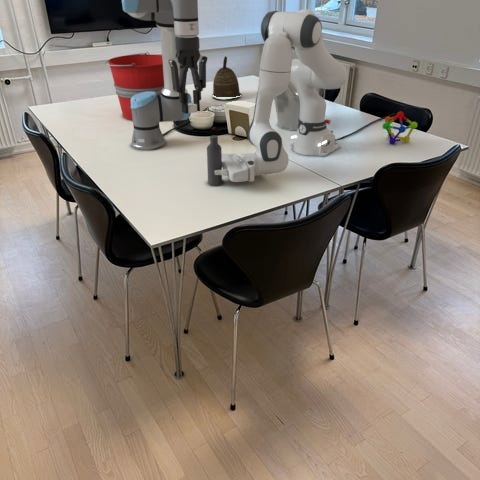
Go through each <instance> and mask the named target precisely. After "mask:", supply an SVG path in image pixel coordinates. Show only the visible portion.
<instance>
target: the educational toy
mask: <svg viewBox="0 0 480 480" xmlns="http://www.w3.org/2000/svg"><path fill="white" fill-rule="evenodd" d="M385 117H386V116H385ZM397 119H399V124H400V125H399V127H398V126H393V125H391V124H392V123H394V122H395V121H396V120H397ZM403 120H404V121H405V122H407V123H408V124H409V125H407V126H404V123H403ZM417 127H418V122H417V121H411V120H410V119H409V118H408V117H406V116H405V113H404V112H403V111H401V110H400V111H398V112H397V113H396V116H395V115H393V116H390V117H386V118H384V122H383V123H382V129H383V130H386V132H387V138H388V142H389V145H395V144H396V143H397V142H402V141H403V142H404V143H409V142H410V140H411V138H410V136H411V134H412V132H413V131H414V130H415V129H417ZM392 129H393V130H397V131H398V132H396V134H395V133H394V132H392ZM408 129H409V131H408V133H407V134H406V135H404V136H401V134H403V133H405V132H406V130H408ZM399 135H400V136H399Z"/></svg>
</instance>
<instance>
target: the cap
mask: <svg viewBox="0 0 480 480" xmlns="http://www.w3.org/2000/svg"><path fill="white" fill-rule="evenodd" d="M197 112H198V111H197V104H194V103H193V102H191V103H189V104H188V113H191V114H194V113H197Z"/></svg>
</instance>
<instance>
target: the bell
mask: <svg viewBox="0 0 480 480" xmlns="http://www.w3.org/2000/svg"><path fill="white" fill-rule="evenodd" d="M227 63H228V57H227V56H224V58H223V63H222V67H221V68H219V69H218V70H217V71H216V73H215V75H214V78H213V81H212V83H213V84H212V95H214V96H216V97H236V96H240V95H241V96H242V93H241V92H240V83H239V80H238V79H239V78H238V77H237V75H236V73H235V72H234V70H232V69H231V68H230V67H227Z"/></svg>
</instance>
